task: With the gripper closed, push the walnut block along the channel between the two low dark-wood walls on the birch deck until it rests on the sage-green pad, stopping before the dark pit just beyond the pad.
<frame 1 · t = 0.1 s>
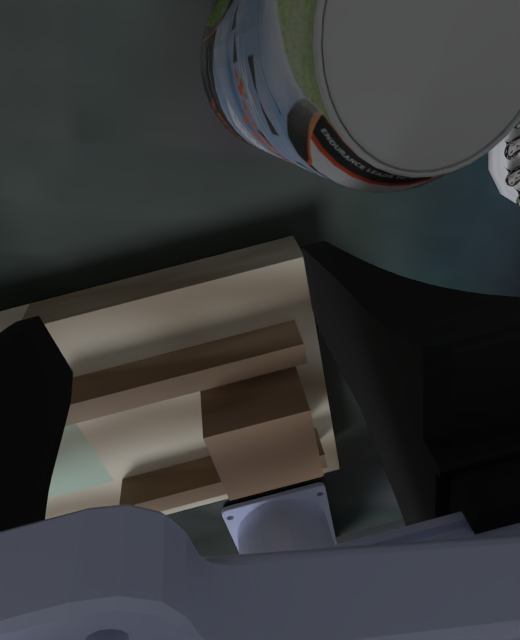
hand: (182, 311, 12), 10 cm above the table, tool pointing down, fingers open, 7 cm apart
deck: (104, 410, 27), on the table
block: (255, 400, 25), point 2 cm above the table, touching deck
beverage can: (284, 46, 18), on the table
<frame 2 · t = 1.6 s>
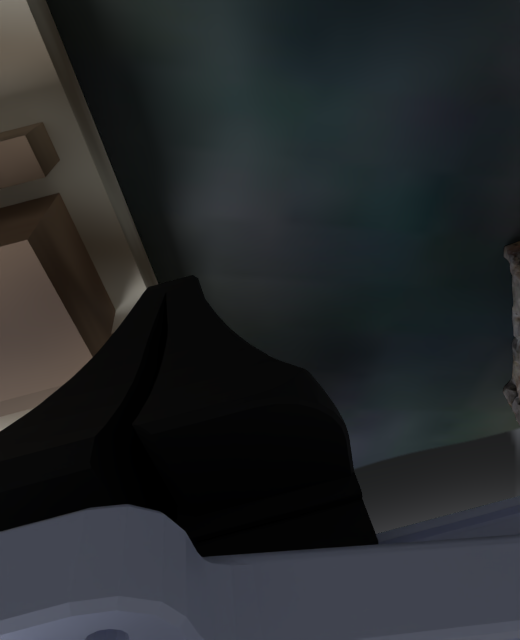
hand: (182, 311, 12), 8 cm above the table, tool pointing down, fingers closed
block: (25, 273, 17), point 2 cm above the table, touching deck
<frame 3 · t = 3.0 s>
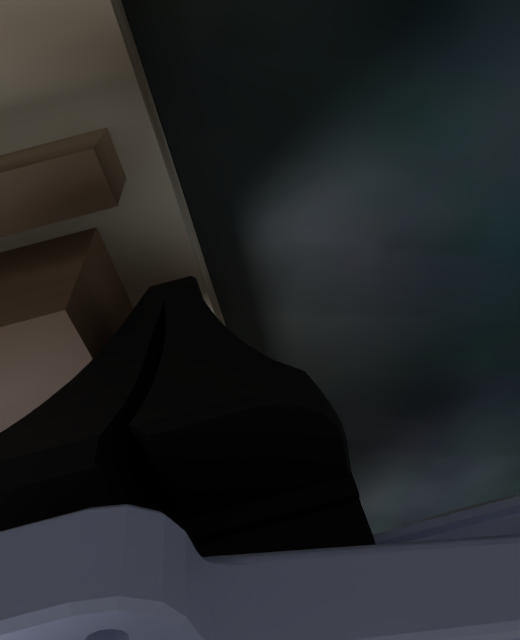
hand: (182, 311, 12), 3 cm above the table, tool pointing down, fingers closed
block: (48, 328, 13), point 2 cm above the table, touching gripper
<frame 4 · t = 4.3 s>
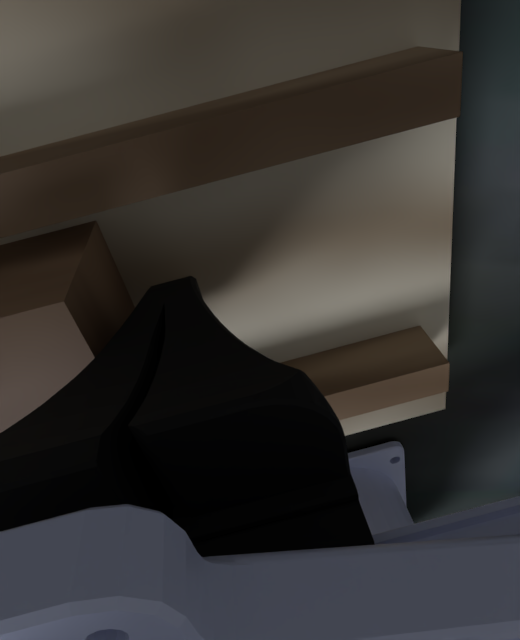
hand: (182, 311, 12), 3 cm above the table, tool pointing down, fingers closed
deck: (40, 295, 15), on the table
block: (47, 322, 13), point 2 cm above the table, touching deck, gripper
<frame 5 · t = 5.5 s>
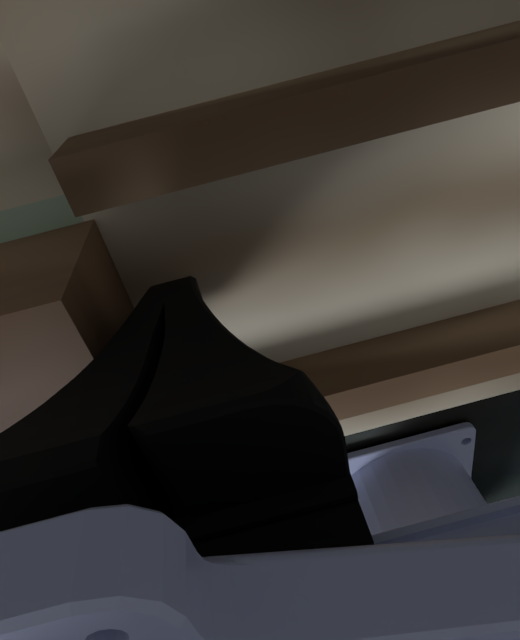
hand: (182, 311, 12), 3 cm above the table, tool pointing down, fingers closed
deck: (146, 266, 15), on the table
block: (45, 321, 13), point 2 cm above the table, touching deck, gripper
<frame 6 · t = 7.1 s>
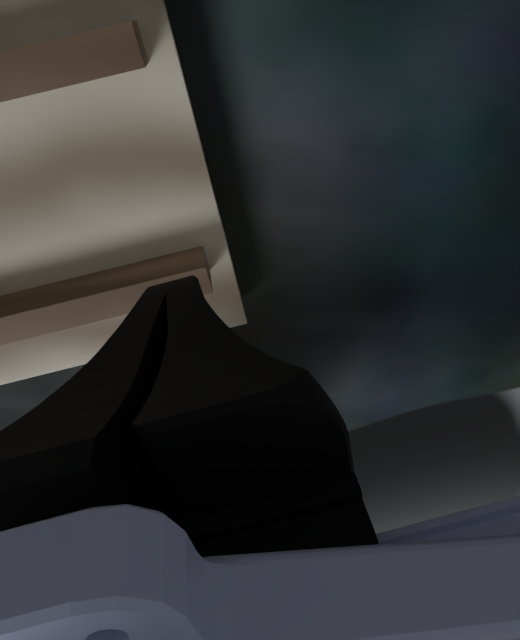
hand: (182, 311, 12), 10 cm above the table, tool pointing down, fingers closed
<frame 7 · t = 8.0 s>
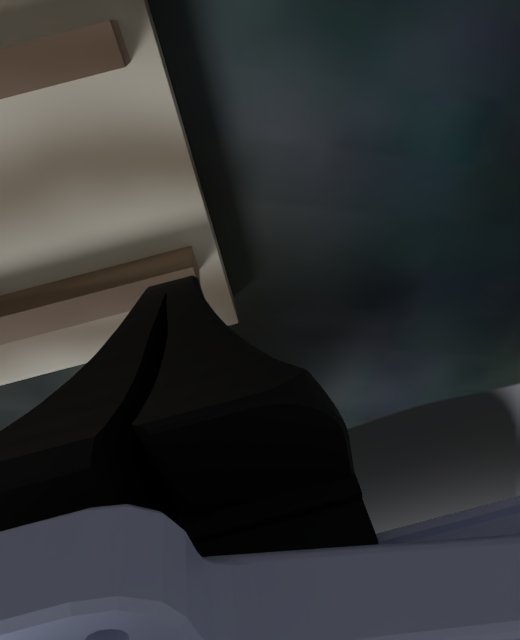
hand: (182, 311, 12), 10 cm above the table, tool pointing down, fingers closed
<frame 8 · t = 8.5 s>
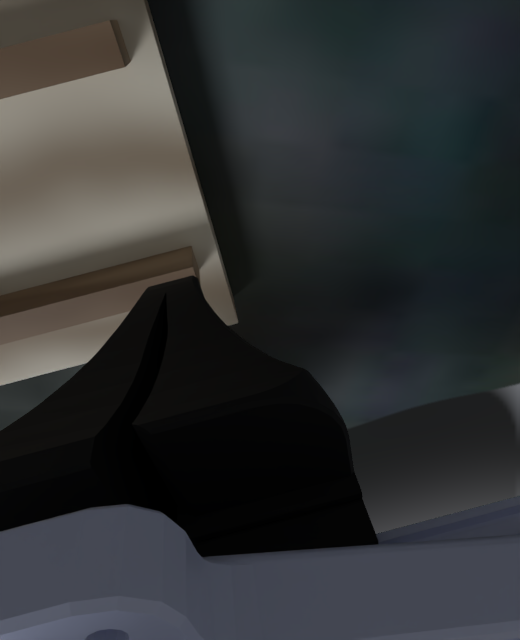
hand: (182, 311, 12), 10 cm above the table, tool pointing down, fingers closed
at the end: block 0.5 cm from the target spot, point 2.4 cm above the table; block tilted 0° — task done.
